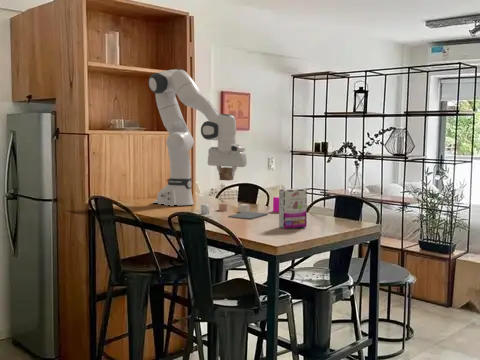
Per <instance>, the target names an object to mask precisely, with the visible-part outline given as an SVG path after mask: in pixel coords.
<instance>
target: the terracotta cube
mask: <svg viewBox="0 0 480 360" xmlns="http://www.w3.org/2000/svg"><path fill="white" fill-rule="evenodd" d="M218 211H219V212H228V203H227V202H220V203H219V204H218Z"/></svg>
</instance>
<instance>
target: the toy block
mask: <svg viewBox="0 0 480 360" xmlns="http://www.w3.org/2000/svg"><path fill="white" fill-rule="evenodd" d="M272 198H273V199H272V201H273V202H272V212H274V213H275V212H276V213H278V214H279V196H276V197H275V196H273V197H272Z"/></svg>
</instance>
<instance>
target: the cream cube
mask: <svg viewBox="0 0 480 360" xmlns="http://www.w3.org/2000/svg"><path fill="white" fill-rule="evenodd" d="M250 206H251V205H250V204H246V203H242V204H238V213H242V212H251V211H250V210H251V209H250V208H251V207H250Z"/></svg>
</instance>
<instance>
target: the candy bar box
mask: <svg viewBox="0 0 480 360" xmlns="http://www.w3.org/2000/svg"><path fill="white" fill-rule="evenodd" d="M278 190H279V191H278V197H279V213H278V227H279V228H280V229H284V230H286V229H287V230H288V229H289V230H291V229H299V228H300V229H301V228H307V214H308V213H307V211H308V210H307V205H308V201H307V200H308V199H307V196H308V194H307V188H303V187H301V188H284V189H283V188H282V189H278Z"/></svg>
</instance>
